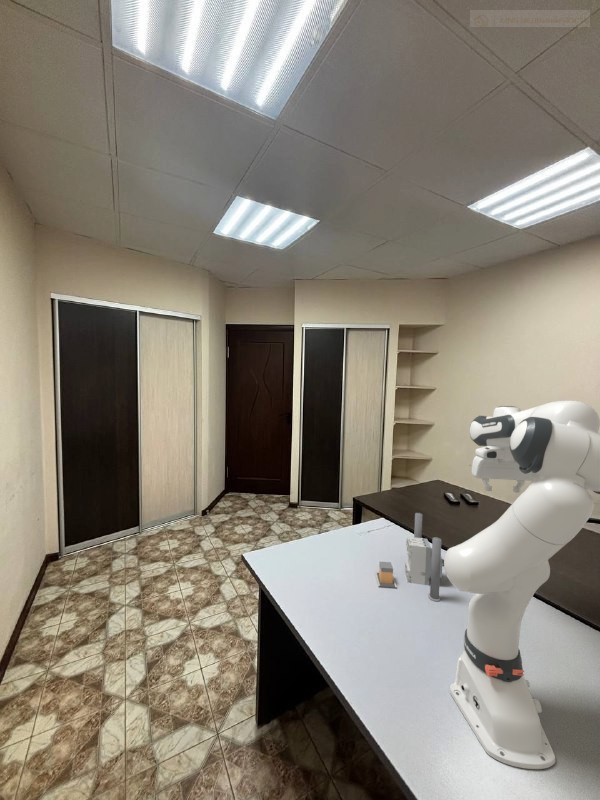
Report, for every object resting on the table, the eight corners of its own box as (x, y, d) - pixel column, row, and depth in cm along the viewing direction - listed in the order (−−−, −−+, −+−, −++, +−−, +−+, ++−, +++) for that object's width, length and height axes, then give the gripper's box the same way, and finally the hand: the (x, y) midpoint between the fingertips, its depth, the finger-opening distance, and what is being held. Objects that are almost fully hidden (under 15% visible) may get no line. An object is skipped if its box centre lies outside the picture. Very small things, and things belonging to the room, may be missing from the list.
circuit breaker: (446, 587, 124) (447, 549, 124) (407, 582, 127) (408, 545, 126) (441, 576, 132) (443, 540, 131) (405, 571, 134) (406, 536, 134)
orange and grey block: (392, 583, 125) (393, 568, 125) (380, 582, 125) (381, 567, 125) (390, 576, 130) (390, 562, 129) (378, 576, 130) (379, 561, 130)
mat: (397, 588, 123) (397, 587, 123) (378, 587, 123) (378, 585, 123) (392, 574, 132) (392, 573, 132) (374, 573, 132) (374, 572, 132)
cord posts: (441, 602, 116) (444, 542, 115) (430, 601, 116) (433, 541, 115) (420, 561, 143) (422, 512, 142) (410, 560, 143) (412, 512, 142)
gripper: (530, 451, 115) (528, 490, 115) (470, 449, 116) (468, 487, 117) (542, 455, 108) (539, 496, 109) (478, 453, 110) (476, 492, 111)
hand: (502, 491), depth 113 cm, fingers open, 8 cm apart
